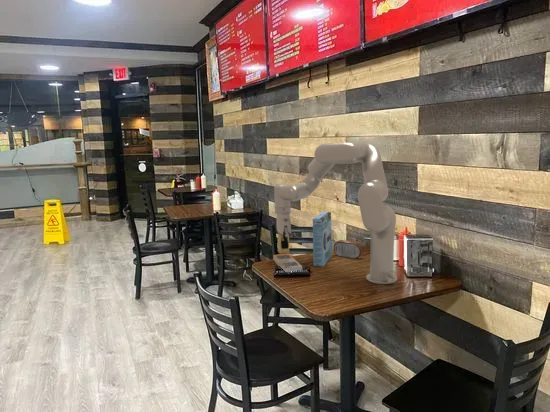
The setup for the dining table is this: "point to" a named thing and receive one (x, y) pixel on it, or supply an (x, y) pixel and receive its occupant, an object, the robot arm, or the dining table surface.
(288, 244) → the nut block
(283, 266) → the grey flat box
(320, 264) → the gum box
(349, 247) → the tin
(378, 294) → the dining table surface
